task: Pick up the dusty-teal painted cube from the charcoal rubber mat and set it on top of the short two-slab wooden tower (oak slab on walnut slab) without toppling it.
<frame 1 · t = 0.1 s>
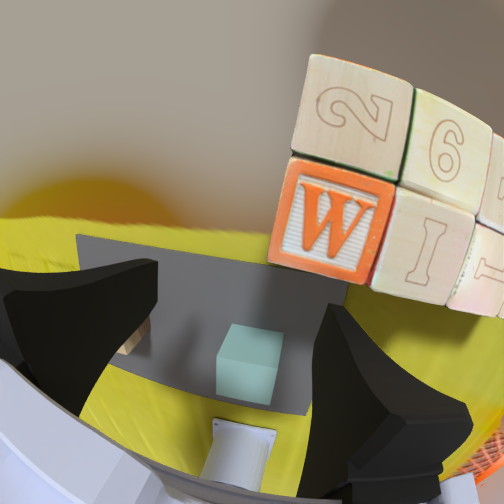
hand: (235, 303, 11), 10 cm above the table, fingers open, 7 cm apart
stack of blocks: (430, 200, 17), on the table
teal cube: (255, 348, 23), resting on rubber mat
rubber mat: (188, 335, 25), on the table
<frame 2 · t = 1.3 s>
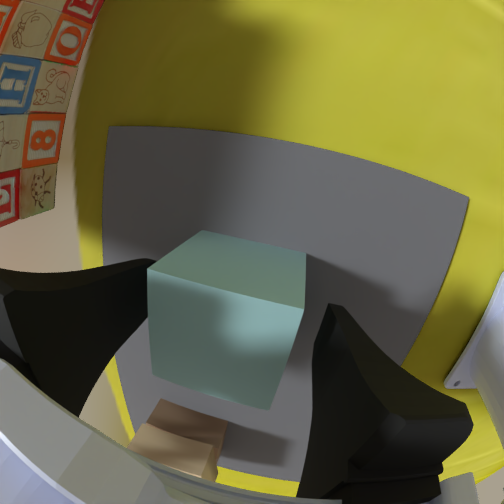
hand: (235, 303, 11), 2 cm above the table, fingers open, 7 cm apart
stack of blocks: (61, 52, 10), on the table
walnut slab: (193, 427, 17), resting on rubber mat, touching oak slab
teal cube: (244, 288, 12), resting on rubber mat
rubber mat: (237, 382, 15), on the table
oak slab: (181, 451, 15), point 3 cm above the table, touching walnut slab
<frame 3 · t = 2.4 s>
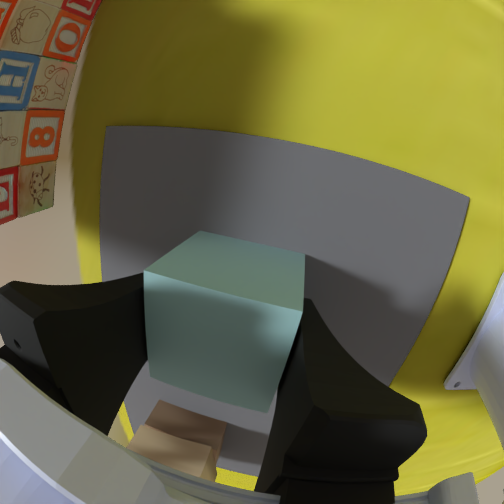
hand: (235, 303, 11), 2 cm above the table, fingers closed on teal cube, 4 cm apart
stack of blocks: (60, 50, 10), on the table
walnut slab: (191, 428, 17), resting on rubber mat, touching oak slab
teal cube: (242, 289, 12), resting on rubber mat, touching gripper
rubber mat: (235, 384, 14), on the table
oak slab: (180, 452, 14), point 3 cm above the table, touching walnut slab
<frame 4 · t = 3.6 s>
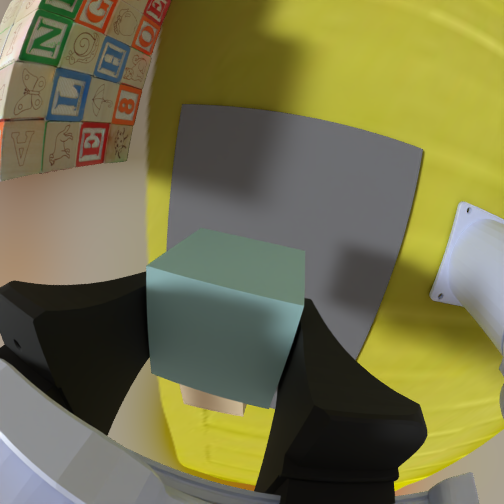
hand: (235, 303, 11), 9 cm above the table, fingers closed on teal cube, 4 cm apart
stack of blocks: (130, 45, 16), on the table
teal cube: (243, 286, 12), point 8 cm above the table, touching gripper
rubber mat: (269, 294, 20), on the table
oak slab: (219, 370, 20), point 3 cm above the table, touching walnut slab
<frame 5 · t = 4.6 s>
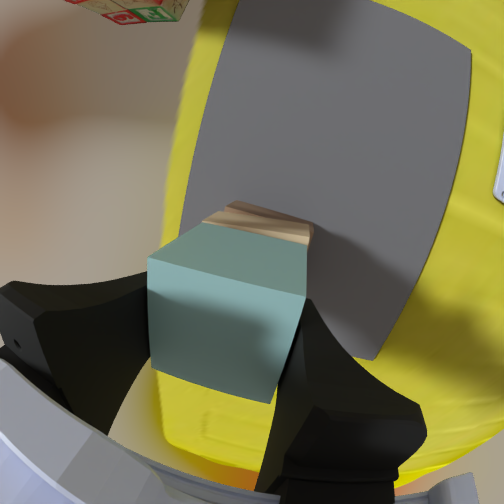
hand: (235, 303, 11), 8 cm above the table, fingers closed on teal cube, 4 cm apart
walnut slab: (264, 247, 18), resting on rubber mat, touching oak slab
teal cube: (244, 281, 12), point 6 cm above the table, touching gripper
rubber mat: (330, 160, 15), on the table
oak slab: (257, 260, 15), point 3 cm above the table, touching walnut slab
when the fingers open (8 cm above the table, at t = 5.1 s): teal cube stays where it is, resting on oak slab.
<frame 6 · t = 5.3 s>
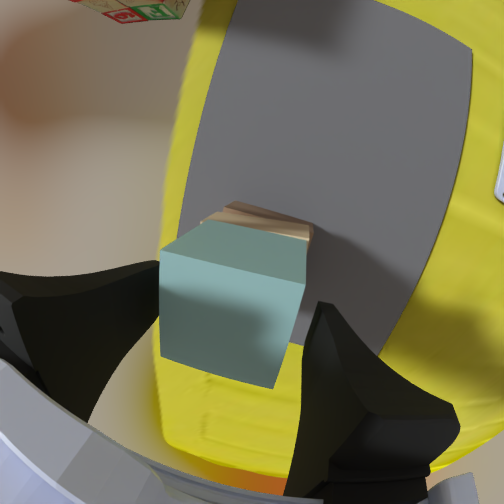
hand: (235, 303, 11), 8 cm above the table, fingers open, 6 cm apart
walnut slab: (263, 248, 18), resting on rubber mat, touching oak slab
teal cube: (248, 274, 13), point 5 cm above the table, touching oak slab
rubber mat: (330, 160, 15), on the table
oak slab: (256, 261, 15), point 3 cm above the table, touching teal cube, walnut slab
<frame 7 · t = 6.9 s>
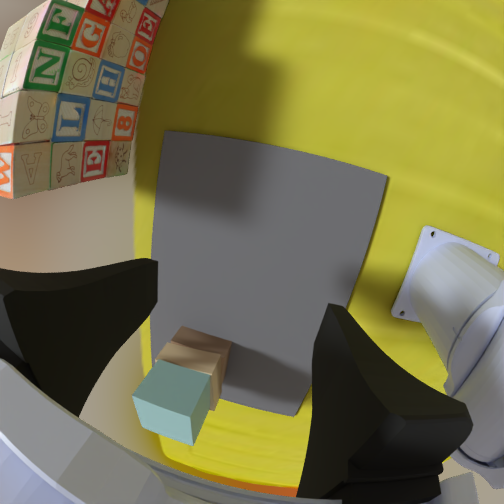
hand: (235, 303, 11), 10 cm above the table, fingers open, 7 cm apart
stack of blocks: (124, 63, 18), on the table
walnut slab: (204, 352, 25), resting on rubber mat, touching oak slab
teal cube: (184, 384, 20), point 5 cm above the table, touching oak slab
rubber mat: (240, 304, 23), on the table
oak slab: (195, 368, 23), point 3 cm above the table, touching teal cube, walnut slab
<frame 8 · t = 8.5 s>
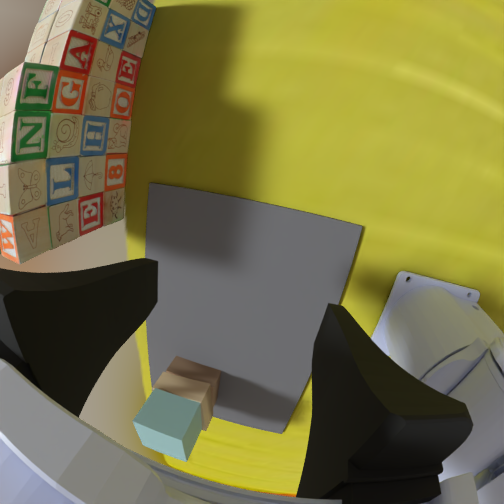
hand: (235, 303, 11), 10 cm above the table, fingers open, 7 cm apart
stack of blocks: (110, 107, 20), on the table
walnut slab: (197, 378, 27), resting on rubber mat, touching oak slab
teal cube: (179, 409, 22), point 5 cm above the table, touching oak slab
rubber mat: (226, 339, 24), on the table
oak slab: (188, 394, 24), point 3 cm above the table, touching teal cube, walnut slab
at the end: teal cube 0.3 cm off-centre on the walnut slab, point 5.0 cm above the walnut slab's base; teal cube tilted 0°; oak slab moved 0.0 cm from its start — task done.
